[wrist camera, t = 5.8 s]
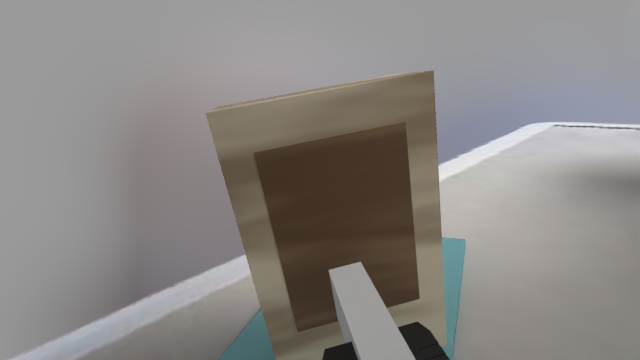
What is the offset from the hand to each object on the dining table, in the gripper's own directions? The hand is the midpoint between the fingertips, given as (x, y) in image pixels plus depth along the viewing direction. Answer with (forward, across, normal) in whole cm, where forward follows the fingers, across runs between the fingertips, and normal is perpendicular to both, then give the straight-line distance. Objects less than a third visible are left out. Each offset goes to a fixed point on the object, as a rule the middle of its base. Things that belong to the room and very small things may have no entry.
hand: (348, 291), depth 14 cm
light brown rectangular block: (+4, +1, -7) cm, 8 cm away
